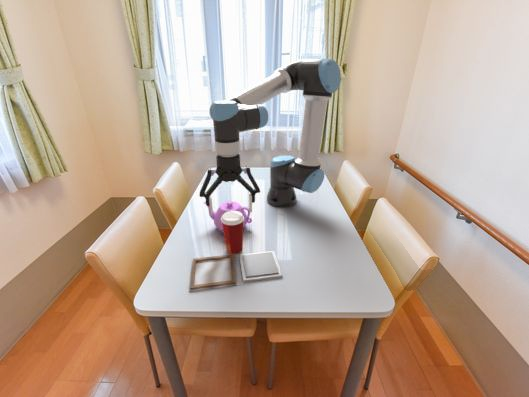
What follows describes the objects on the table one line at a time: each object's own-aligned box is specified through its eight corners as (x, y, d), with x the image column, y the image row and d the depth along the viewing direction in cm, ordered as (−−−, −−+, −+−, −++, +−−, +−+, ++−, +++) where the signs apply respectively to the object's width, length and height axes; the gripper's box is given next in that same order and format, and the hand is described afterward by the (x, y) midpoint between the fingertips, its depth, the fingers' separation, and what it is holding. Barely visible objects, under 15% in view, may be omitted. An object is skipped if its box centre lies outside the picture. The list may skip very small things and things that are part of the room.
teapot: (202, 235, 109) (198, 209, 103) (210, 217, 122) (208, 193, 116) (250, 237, 108) (249, 211, 102) (254, 219, 120) (253, 195, 115)
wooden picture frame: (233, 255, 98) (233, 253, 97) (237, 285, 84) (237, 282, 84) (192, 260, 95) (191, 257, 95) (189, 291, 82) (188, 289, 82)
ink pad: (274, 252, 99) (274, 249, 99) (282, 277, 88) (282, 274, 87) (239, 256, 97) (239, 253, 96) (243, 282, 86) (243, 279, 85)
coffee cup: (248, 245, 103) (247, 211, 96) (240, 258, 96) (238, 223, 89) (229, 241, 105) (226, 208, 99) (219, 253, 99) (216, 219, 92)
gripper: (264, 148, 89) (264, 204, 98) (188, 151, 85) (195, 209, 94) (269, 155, 82) (268, 214, 92) (186, 159, 78) (194, 220, 88)
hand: (231, 212), depth 93 cm, fingers open, 13 cm apart
